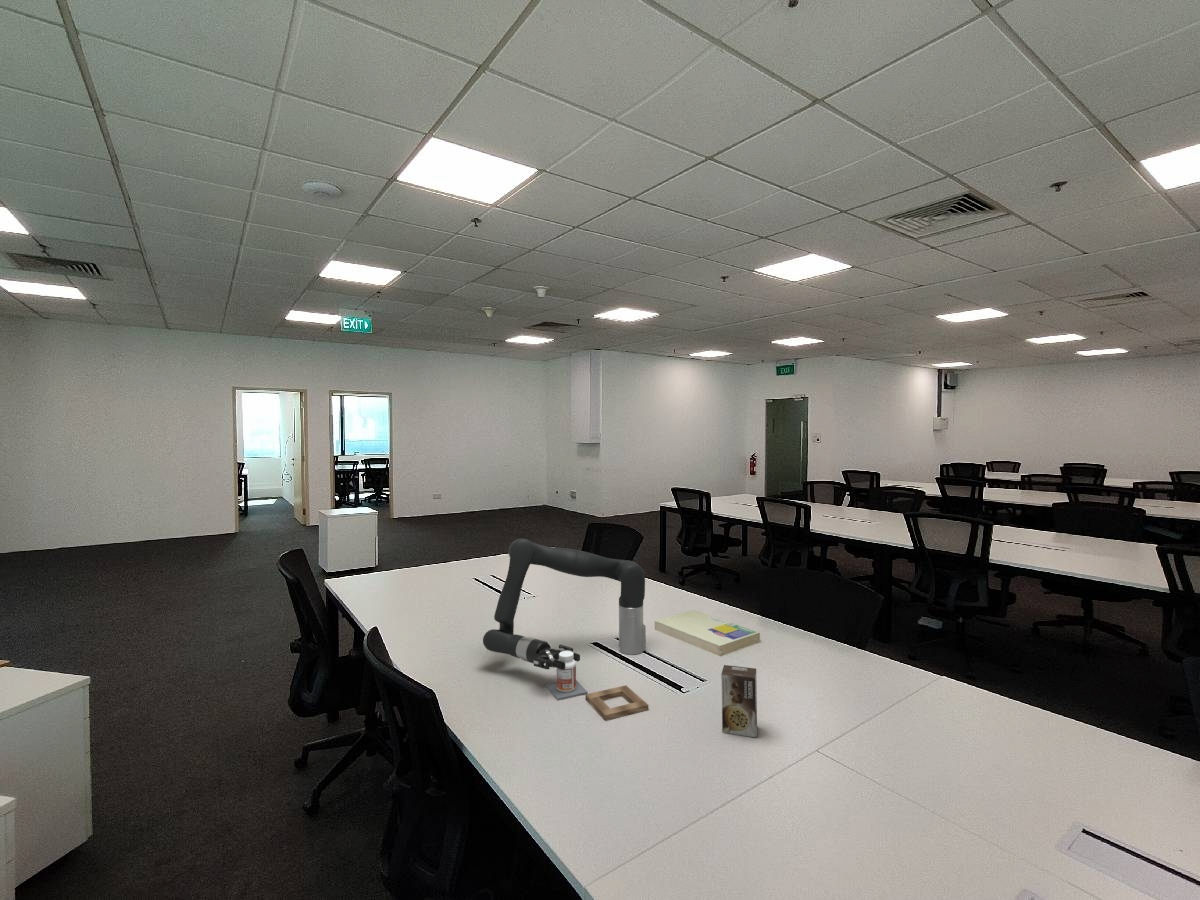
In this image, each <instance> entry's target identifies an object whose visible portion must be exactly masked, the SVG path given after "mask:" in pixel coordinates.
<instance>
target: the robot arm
mask: <svg viewBox="0 0 1200 900" xmlns="http://www.w3.org/2000/svg"><path fill="white" fill-rule="evenodd" d="M508 557H509V564H508V570H507V575H506V577H505V578H506V579H505V581H504V583H503V586H502V589H501V592H500V594H499V598H498V600H497V603H496V604H497V605H496V608H495V612H494V616H493V619H494V620H495V622H497V623H499V628H498V629H494V628H493V629H490V630H488V631H486V632H485V633H484V635H483V637H482V643H483V644H482V645H483V646H484V648H485V649H486V650H488V651H490V652H493V653H499V654H506V655H510V656H511V657H514V658H518V659H520V660H522V661H525V662H527V663H531V664H533V667H536V668H541V669H544V670H550V668H551V669H555V668H556V669H557V668H559V669H562V670H564V669H565V662H563V661H559V653H560V652H562V651H571V652H573V653H574V658H573V659H574V660H575V662H579V661H581V655H580V654H579V653H577V652H574V647H571V646H567V645H563V644H559V645H558V647H552V646H551V645H550V644H549V643H548V641H545V640H542V639H537V638H534V637H530V636H524V635H521V634H514V631H515V630H514V625H515V622H514V621H515V615H516V613H517V609H518V604H519V602H520V596H521V592H522V588H523V585H524V581H525V577H526V575H527V572H528V570H529V567H530V566H531V565H535V566H536V565H537V566H541V567H546V568H548V569H552V570H554V571H557V572H561V573H562V574H563V573H564V574H568V575H571V576H577V577H583V578H596V577H598V578H599V577H600V578H607V579H611V580H615V581H618V582H619V583H620V596H619V597H618V651H619V652H621V654H625V655H638V654H642V652H644V651H646V649H647V648H646V646H647V645H646V643H647V642H646V641H647V640H646V637H647V636H646V632H647V631H646V630H647V629H646V628H647V627H646V625H645V624H644V599H645V594H646V574H645V571H644V569H643V568H642V567H641V566H640V565H639V564H638V563H637V562H635V561H632V560H626V559H618V558H610V557H605V556H601V555H599V554H595V553H591V552H588V551H583V550H580V549H579V550H578V549H574V548H566V547H557V546H555V547H553V546H547V545H543V544H539V543H536V542H533V541H531V540H529V539H528V538H517V539H515V540H514V541H512V542H511V543H510V544H509V546H508Z"/></svg>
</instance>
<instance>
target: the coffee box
mask: <svg viewBox="0 0 1200 900" xmlns="http://www.w3.org/2000/svg"><path fill="white" fill-rule="evenodd" d="M720 674H721V676H720V677H721V729H722V730H721V732H722V733H724V734H730V735H731V734H732V735H737V736H744V737H750V738H757V736H758V697H757V695H758V691H757V689H758V688H757V686H758V685H757V682H758V681H757V668H755V667H746V666H738V665H737V666H736V665H728V664H724V665H723V667H722V671H721V673H720Z"/></svg>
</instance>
